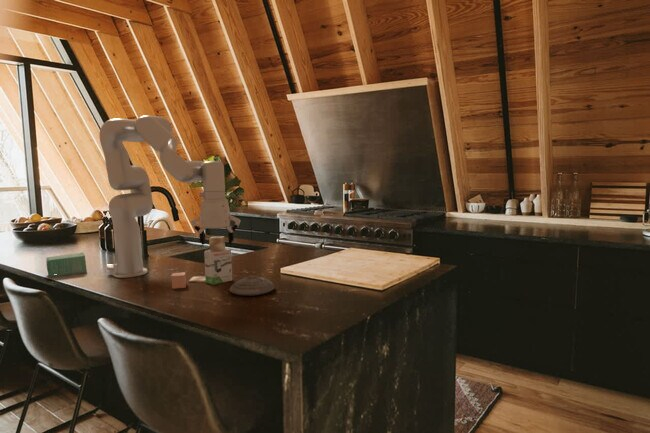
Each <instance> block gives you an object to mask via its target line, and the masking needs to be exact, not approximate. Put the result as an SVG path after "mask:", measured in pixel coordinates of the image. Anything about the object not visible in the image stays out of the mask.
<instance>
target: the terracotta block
mask: <svg viewBox="0 0 650 433" xmlns="http://www.w3.org/2000/svg"><path fill="white" fill-rule="evenodd" d="M170 277H171V287H172V288H171V289H184V288H186V287H187V280H186V278H187V277H186V272H185V271H181V272H172V273H171V276H170Z"/></svg>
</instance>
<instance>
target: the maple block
mask: <svg viewBox="0 0 650 433" xmlns="http://www.w3.org/2000/svg"><path fill="white" fill-rule="evenodd" d="M225 240H226V239H225V236H224V235H223V236H222V235H217V236H211V237H209V238H208V241H209V242H208V244H209V250H210V251H223V250H224V249H225V248H226V241H225Z"/></svg>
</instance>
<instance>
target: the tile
mask: <svg viewBox="0 0 650 433" xmlns="http://www.w3.org/2000/svg"><path fill="white" fill-rule="evenodd" d="M188 283H206V279H205V275H202V276H201V275H199V276H192V277H191V278H190V279H189V280H188Z"/></svg>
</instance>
